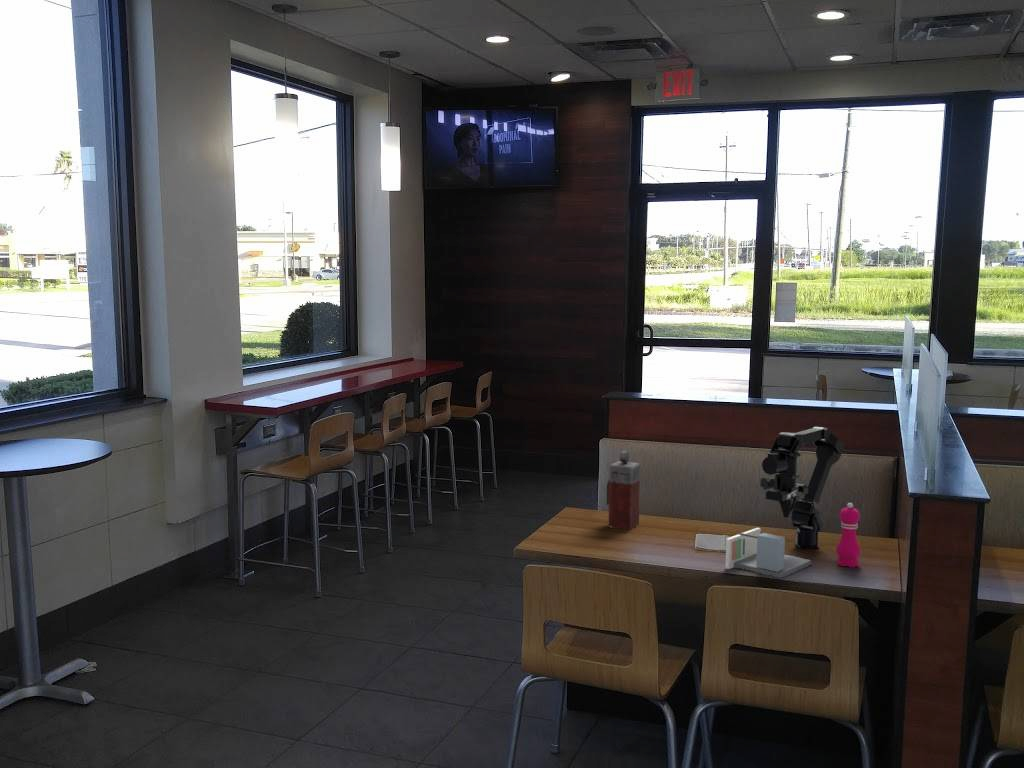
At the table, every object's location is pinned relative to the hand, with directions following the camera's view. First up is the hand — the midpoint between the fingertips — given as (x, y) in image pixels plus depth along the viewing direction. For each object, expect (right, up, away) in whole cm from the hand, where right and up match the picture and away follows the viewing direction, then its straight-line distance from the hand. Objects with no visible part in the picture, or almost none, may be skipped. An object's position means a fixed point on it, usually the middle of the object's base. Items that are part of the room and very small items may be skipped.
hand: (786, 517), depth 297 cm
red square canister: (-50, -9, +37) cm, 63 cm away
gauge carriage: (-14, -12, -19) cm, 26 cm away
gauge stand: (-10, -13, -14) cm, 22 cm away
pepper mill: (+16, -13, -12) cm, 24 cm away
